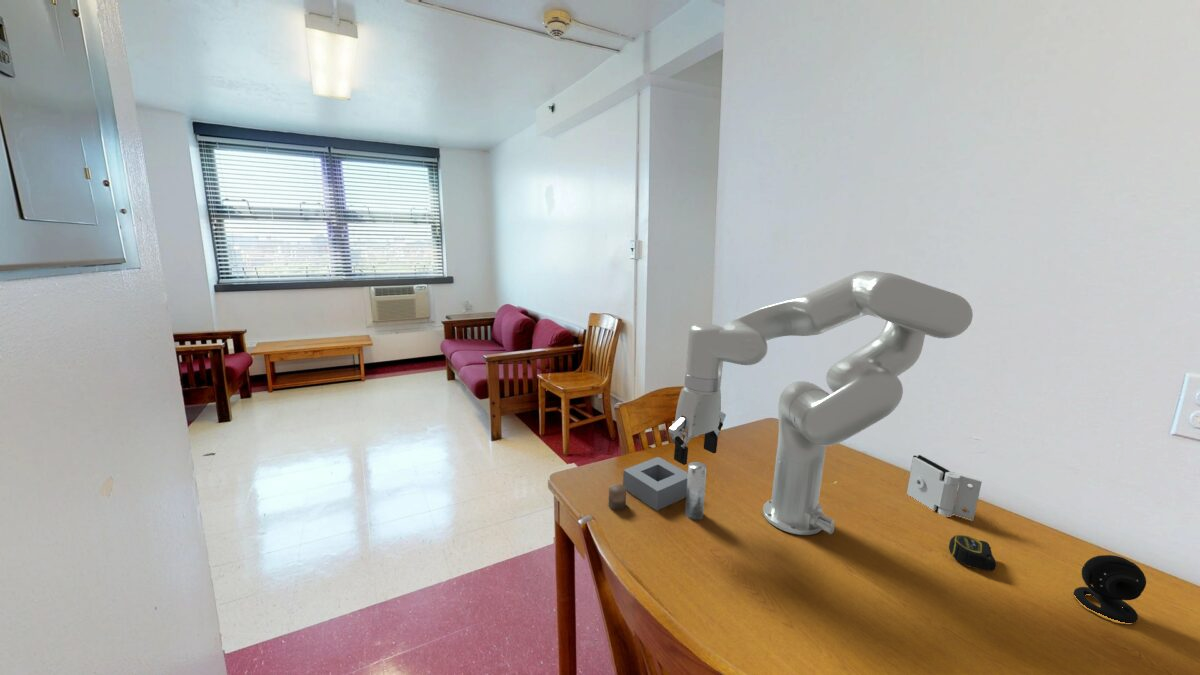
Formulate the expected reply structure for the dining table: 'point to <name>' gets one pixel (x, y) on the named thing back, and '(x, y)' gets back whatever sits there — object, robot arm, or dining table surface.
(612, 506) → the walnut pin
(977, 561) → the tape measure
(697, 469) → the steel pin
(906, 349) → the robot arm
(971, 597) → the dining table surface
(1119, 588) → the webcam
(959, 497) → the hinge
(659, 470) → the hole block
